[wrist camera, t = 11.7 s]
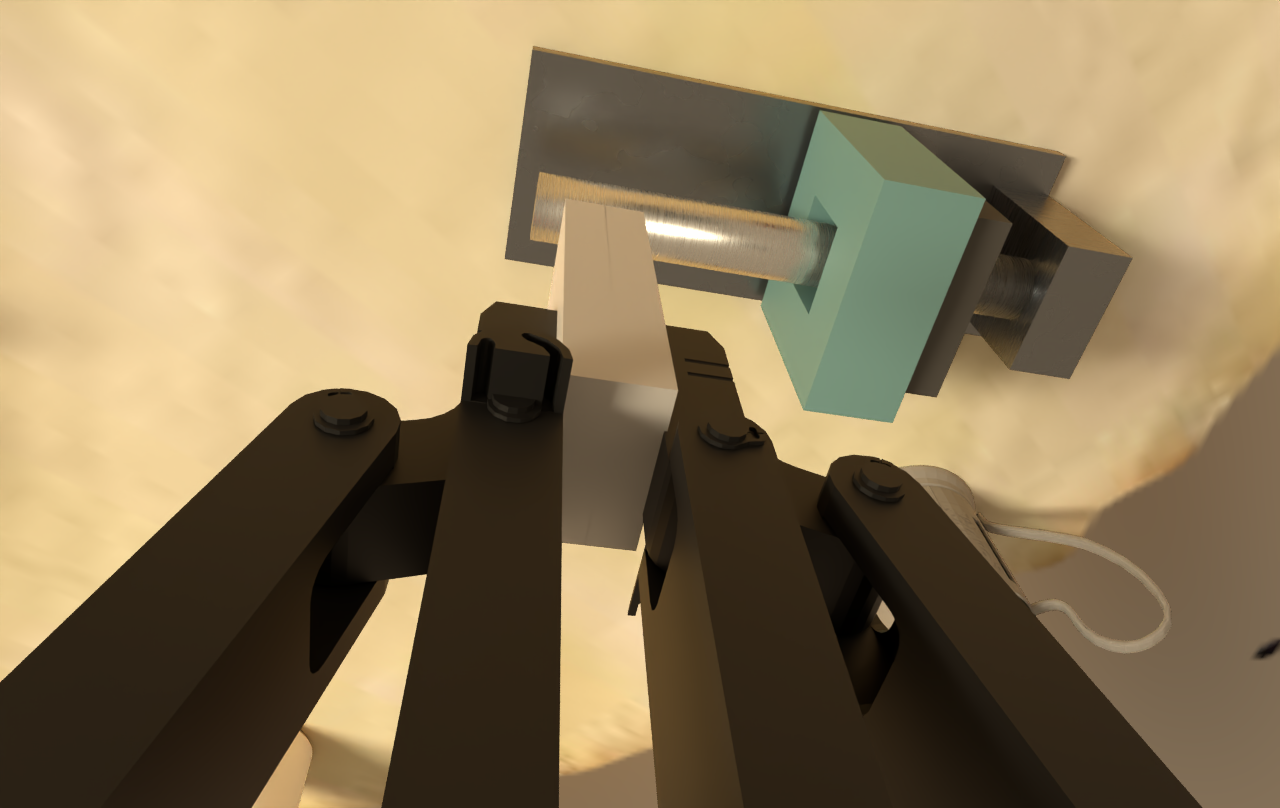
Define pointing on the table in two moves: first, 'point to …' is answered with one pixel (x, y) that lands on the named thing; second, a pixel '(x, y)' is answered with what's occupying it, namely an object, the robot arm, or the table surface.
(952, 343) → the dark gray square plate
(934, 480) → the glass holder
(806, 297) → the green block with hole
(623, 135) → the grey piece
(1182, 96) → the table surface
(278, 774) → the can
